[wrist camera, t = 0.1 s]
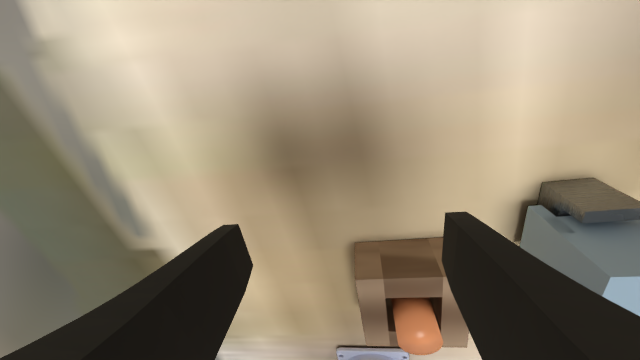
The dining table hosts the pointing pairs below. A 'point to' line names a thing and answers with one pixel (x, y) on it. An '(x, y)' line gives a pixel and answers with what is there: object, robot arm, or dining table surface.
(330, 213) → the dining table surface
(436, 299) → the square wooden frame
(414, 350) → the gauge button
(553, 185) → the rail
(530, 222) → the block
